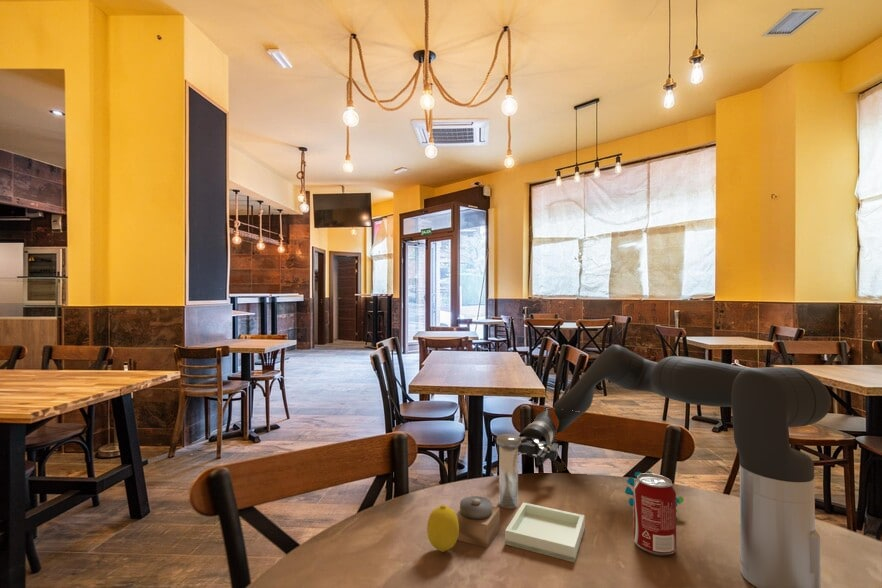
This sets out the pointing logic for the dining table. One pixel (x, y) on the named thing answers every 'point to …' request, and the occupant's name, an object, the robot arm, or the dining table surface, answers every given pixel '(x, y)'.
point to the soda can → (655, 514)
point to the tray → (546, 531)
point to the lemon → (443, 528)
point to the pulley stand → (477, 521)
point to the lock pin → (508, 470)
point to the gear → (629, 491)
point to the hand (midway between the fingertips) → (519, 457)
